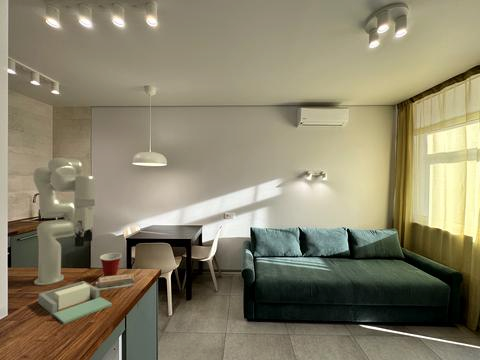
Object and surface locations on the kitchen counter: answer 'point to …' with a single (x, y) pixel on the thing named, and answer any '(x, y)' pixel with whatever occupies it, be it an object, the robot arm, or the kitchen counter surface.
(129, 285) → the packaged product
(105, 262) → the plastic cup
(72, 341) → the kitchen counter surface
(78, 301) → the carton
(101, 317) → the kitchen counter surface
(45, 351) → the kitchen counter surface
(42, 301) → the frame
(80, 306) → the pad
